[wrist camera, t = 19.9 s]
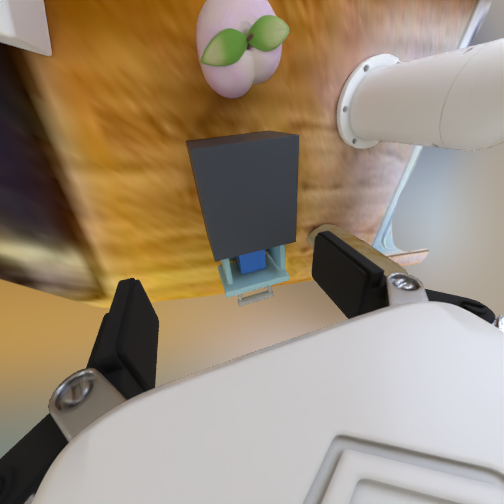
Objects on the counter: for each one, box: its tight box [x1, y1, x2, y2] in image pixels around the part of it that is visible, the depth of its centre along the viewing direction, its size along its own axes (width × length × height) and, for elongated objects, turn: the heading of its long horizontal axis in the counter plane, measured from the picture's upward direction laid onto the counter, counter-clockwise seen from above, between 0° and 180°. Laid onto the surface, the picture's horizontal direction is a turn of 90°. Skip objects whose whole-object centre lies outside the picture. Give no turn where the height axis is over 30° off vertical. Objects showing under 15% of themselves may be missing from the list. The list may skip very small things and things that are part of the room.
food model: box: [308, 224, 408, 276], centre depth 39 cm, size 10×7×20 cm
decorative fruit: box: [196, 0, 290, 98], centre depth 23 cm, size 9×8×10 cm
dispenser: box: [186, 131, 299, 262], centre depth 32 cm, size 15×13×10 cm
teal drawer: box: [218, 245, 289, 306], centre depth 38 cm, size 19×11×8 cm, turn 5°
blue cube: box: [235, 250, 266, 274], centre depth 38 cm, size 4×4×4 cm
